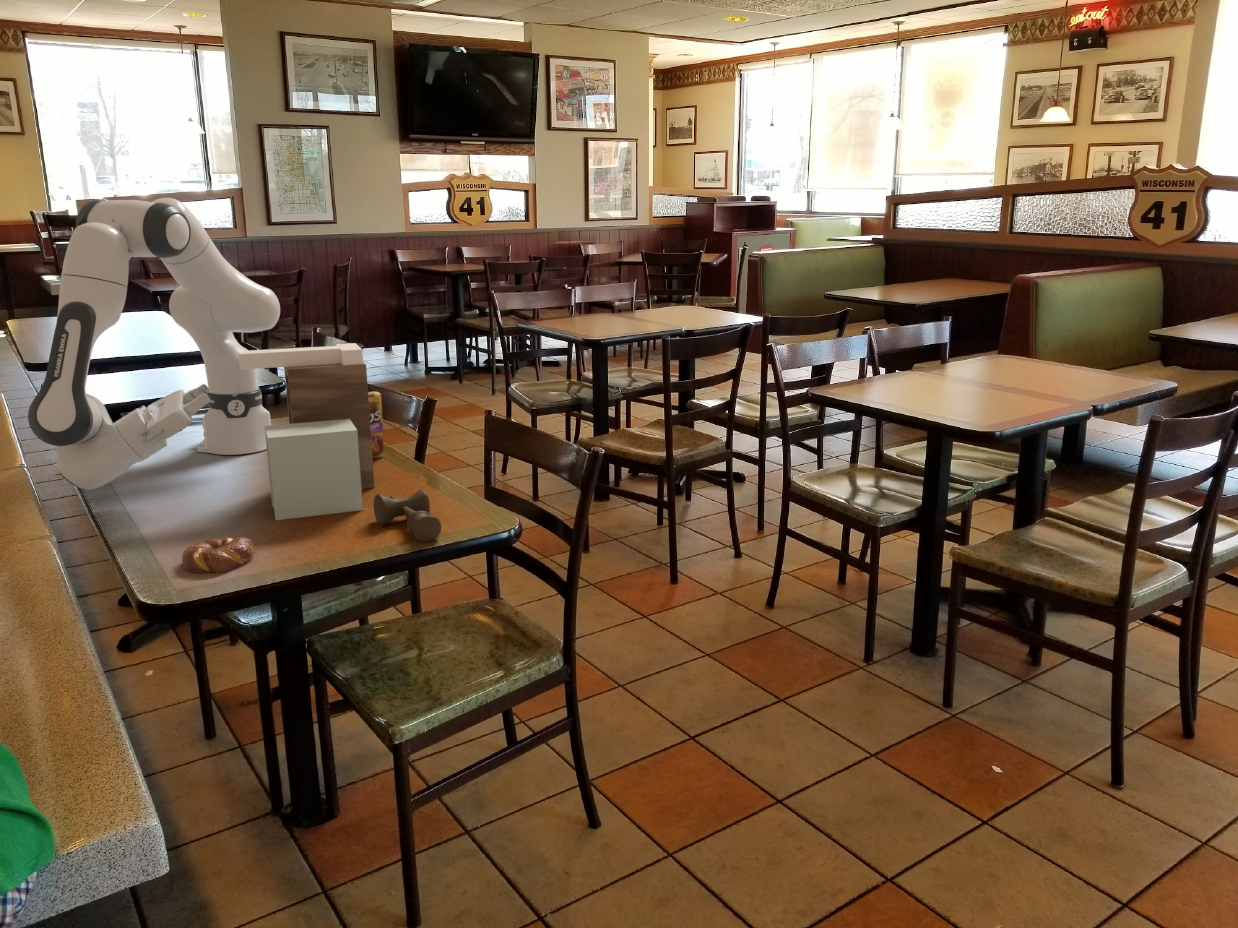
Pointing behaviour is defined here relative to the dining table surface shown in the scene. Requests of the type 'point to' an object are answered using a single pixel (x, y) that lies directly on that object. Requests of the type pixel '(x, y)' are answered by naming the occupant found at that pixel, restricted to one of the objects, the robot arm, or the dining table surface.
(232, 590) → the dining table surface
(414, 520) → the kendama
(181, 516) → the dining table surface
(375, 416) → the candy box
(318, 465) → the pale green rectangular block
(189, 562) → the pretzel
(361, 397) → the tall stand
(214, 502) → the dining table surface
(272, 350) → the T-piece
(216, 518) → the dining table surface
